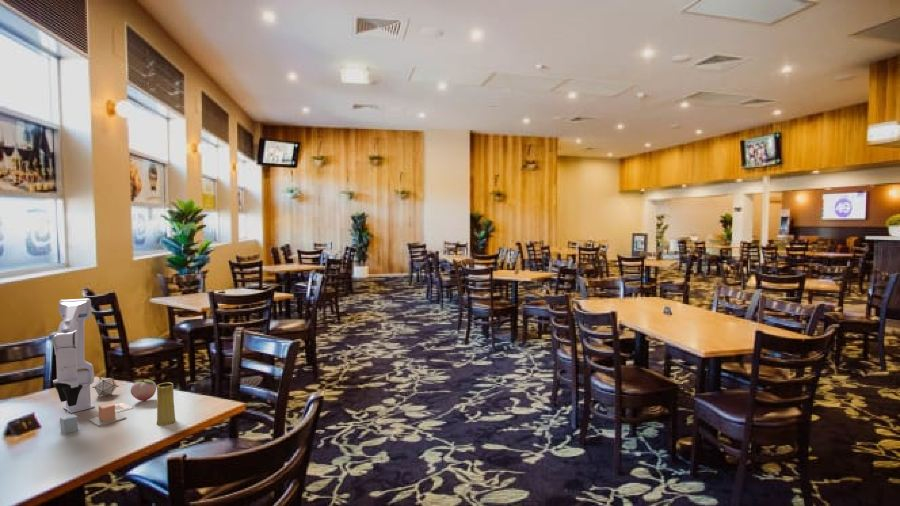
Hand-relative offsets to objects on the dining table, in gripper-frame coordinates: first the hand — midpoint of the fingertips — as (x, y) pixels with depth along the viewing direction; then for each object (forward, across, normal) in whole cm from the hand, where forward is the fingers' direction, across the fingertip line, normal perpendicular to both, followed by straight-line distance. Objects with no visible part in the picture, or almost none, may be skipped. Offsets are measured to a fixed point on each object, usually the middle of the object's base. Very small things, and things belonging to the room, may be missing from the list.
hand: (68, 403), depth 178 cm
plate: (+10, 0, +12) cm, 15 cm away
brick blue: (+10, 0, 0) cm, 10 cm away
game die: (+10, -30, +22) cm, 39 cm away
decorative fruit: (+10, -10, +29) cm, 32 cm away
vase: (+10, +20, +24) cm, 33 cm away
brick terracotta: (+9, 0, +12) cm, 15 cm away
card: (+10, -10, +19) cm, 24 cm away
